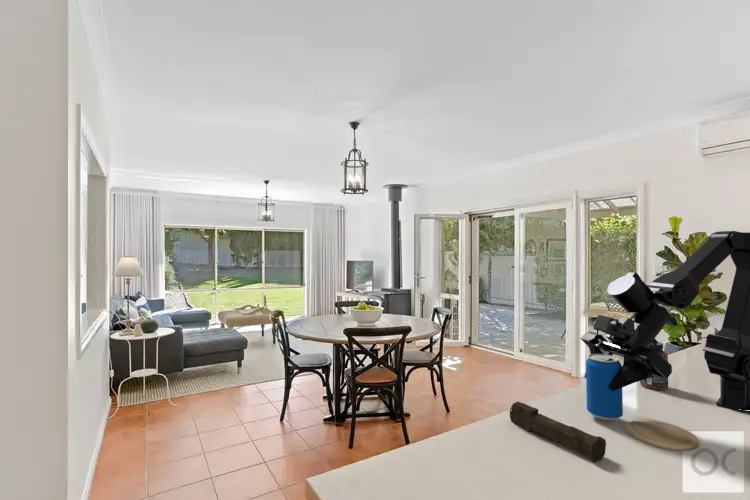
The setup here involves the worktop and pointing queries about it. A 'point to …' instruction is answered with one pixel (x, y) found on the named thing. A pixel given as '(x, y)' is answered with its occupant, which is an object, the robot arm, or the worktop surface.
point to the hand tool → (558, 431)
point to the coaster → (662, 435)
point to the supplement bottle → (656, 382)
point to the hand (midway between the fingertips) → (597, 383)
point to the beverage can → (603, 387)
